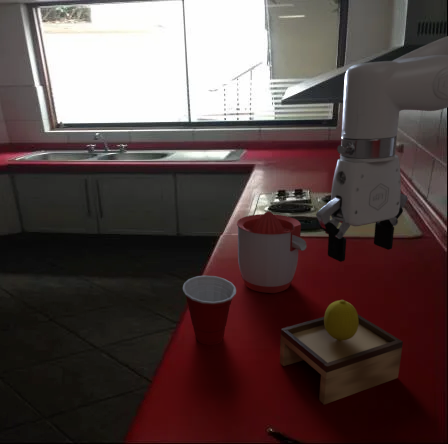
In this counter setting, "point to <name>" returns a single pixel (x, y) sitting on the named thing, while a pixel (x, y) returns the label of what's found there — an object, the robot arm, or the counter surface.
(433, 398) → the counter surface
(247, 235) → the citrus juicer
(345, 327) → the lemon
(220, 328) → the plastic cup
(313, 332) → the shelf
